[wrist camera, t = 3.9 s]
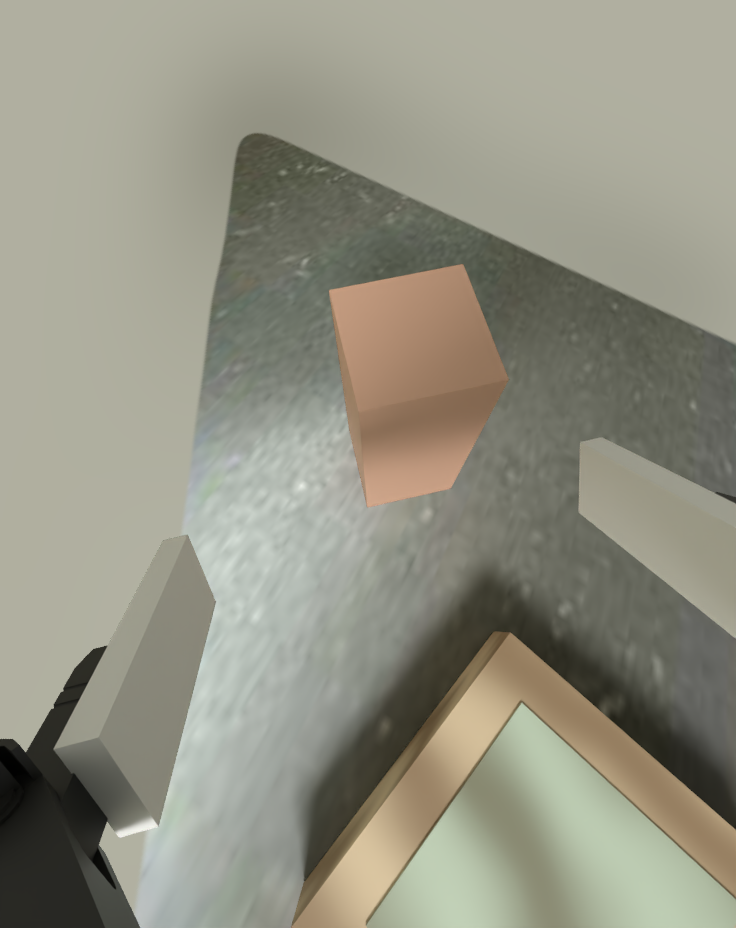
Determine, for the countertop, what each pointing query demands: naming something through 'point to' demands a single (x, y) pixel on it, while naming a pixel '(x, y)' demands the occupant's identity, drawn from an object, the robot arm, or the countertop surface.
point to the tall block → (414, 379)
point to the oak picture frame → (525, 821)
